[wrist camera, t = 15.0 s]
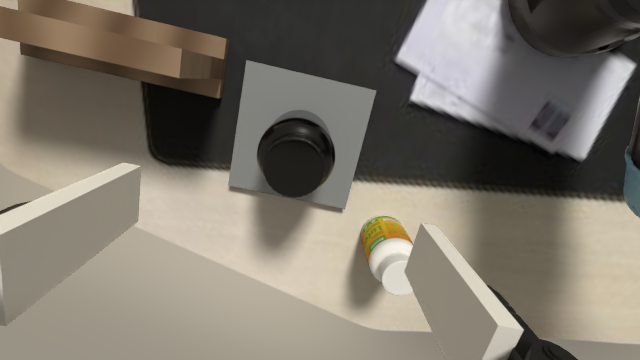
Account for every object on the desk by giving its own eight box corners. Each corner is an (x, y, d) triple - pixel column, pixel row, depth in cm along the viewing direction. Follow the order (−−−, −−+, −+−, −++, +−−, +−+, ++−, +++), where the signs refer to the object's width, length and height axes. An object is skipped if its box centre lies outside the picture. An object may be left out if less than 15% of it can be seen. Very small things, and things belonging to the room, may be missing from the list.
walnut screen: (229, 40, 33) (184, 18, 21) (222, 97, 35) (176, 106, 23) (27, -9, 31) (-138, -61, 20) (30, 55, 33) (-120, 41, 22)
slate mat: (374, 90, 35) (376, 90, 34) (344, 205, 39) (344, 209, 38) (248, 60, 34) (246, 60, 33) (230, 182, 38) (228, 185, 37)
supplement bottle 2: (371, 207, 39) (389, 246, 30) (410, 222, 40) (439, 265, 30) (353, 243, 40) (365, 291, 31) (390, 257, 41) (413, 308, 32)
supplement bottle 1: (304, 181, 37) (301, 226, 25) (256, 144, 35) (230, 175, 24) (342, 135, 35) (357, 162, 24) (294, 95, 34) (285, 103, 22)
